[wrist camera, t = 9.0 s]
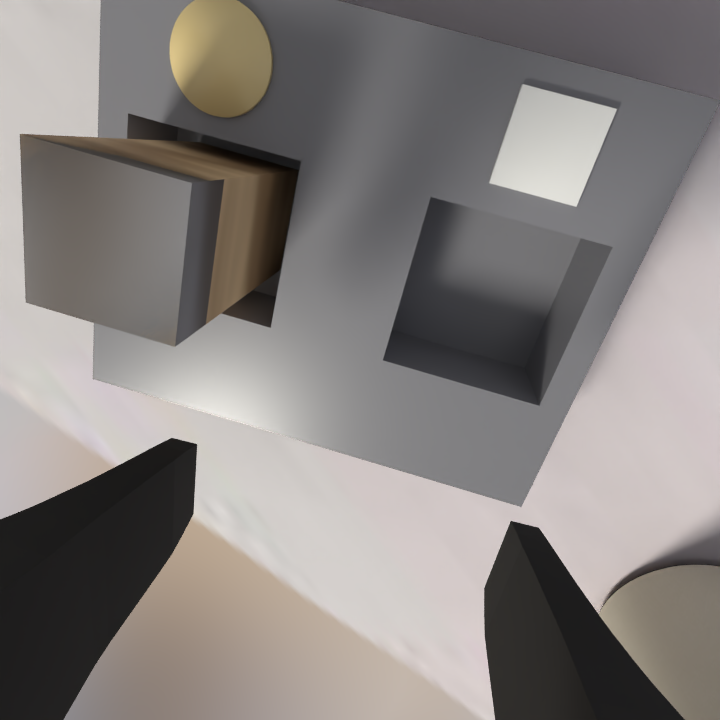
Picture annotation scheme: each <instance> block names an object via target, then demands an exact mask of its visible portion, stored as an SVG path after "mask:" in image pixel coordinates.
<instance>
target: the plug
mask: <svg viewBox="0 0 720 720" xmlns="http://www.w3.org/2000/svg"><path fill="white" fill-rule="evenodd" d="M20 149H21V178H22V206H23V235H24V263H25V292H26V303H29V304H33V305H36V306H39V307H43V308H46V309H49V310H53V311H56V312H59V313H63V314H66V315H70V316H73V317H76V318H80V319H83V320H86V321H90V322H93V323H96V324H100V325H103V326H106V327H110V328H113V329H116V330H120V331H123V332H126V333H130V334H133V335H136V336H140V337H143V338H146V339H150V340H153V341H157V342H160V343H163V344H167V345H170V346H173V347H176V346H177V345H179V344H180V343H181V342H183V341H184V340H185V339H187V338H188V337H189V336H191V335H192V334H194V333H195V332H196V331H198V330H199V329H200V328H202V327H203V326H204V325H206V324H207V323H209V322H210V321H211V320H213V319H214V318H215V317H217V316H218V315H219V314H221V313H222V312H224V311H225V310H226V309H228V308H229V307H230V306H232V305H233V304H234V303H236V302H237V301H239V300H240V299H241V298H243V297H244V296H245V295H247V294H248V293H249V292H251V291H252V290H254V289H255V288H256V287H258V286H259V285H260V284H262V283H263V282H264V281H266V280H267V279H269V278H270V277H271V276H273V275H274V274H275V273H277V272H278V271H279V270H280V267H281V262H282V257H283V251H284V246H285V241H286V235H287V230H288V225H289V219H290V214H291V209H292V203H293V198H294V193H295V187H296V182H297V176H298V171H299V170H297V169H293V168H290V167H286V166H282V165H279V164H275V163H272V162H268V161H265V160H261V159H258V158H254V157H251V156H247V155H243V154H240V153H236V152H233V151H229V150H226V149H222V148H219V147H215V146H212V145H208V144H205V143H201V142H187V141H165V140H142V139H120V138H98V137H75V136H53V135H31V134H20Z"/></svg>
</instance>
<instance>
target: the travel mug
mask: <svg viewBox="0 0 720 720" xmlns="http://www.w3.org/2000/svg"><path fill="white" fill-rule="evenodd" d="M599 616H600V617H601V618H602V620H603V621H604V623H605V624H606V625H607V627H608V628H609V629H610V631H611V632H612V633H613V635H614V636H615V637H616V638H617V640H618V641H619V642H620V643H621V645H622V646H623V647H624V649H625V650H626V651H627V652H628V654H629V655H630V656H631V657H632V659H633V660H634V661H635V662H636V664H637V665H638V666H639V667H640V669H641V670H642V671H643V672H644V673H645V675H646V676H647V677H648V678H649V679H650V681H651V682H652V683H653V684H654V685H655V686H656V688H657V689H658V690H659V691H660V692H661V693H662V694H663V696H664V697H665V698H666V699H667V700H668V701H669V702H670V703H671V705H672V706H673V707H674V708H675V709H676V710H677V711H678V712H679V714H680V715H681V716H682V717H683V718H684V719H685V720H720V567H719V566H711V565H682V566H674V567H669V568H664V569H660V570H656V571H653V572H650V573H647V574H645V575H642V576H640V577H638V578H636V579H634V580H632V581H630V582H629V583H627V584H625V585H624V586H622V587H621V588H620V589H619V590H617V591H616V592H615V593H614V594H613V595H612V596H611V597H610V598H609V599H608V600H607V602H606V603H605V605H604V606H603V608H602V609H601V611H600V614H599Z"/></svg>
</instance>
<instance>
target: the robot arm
mask: <svg viewBox="0 0 720 720" xmlns="http://www.w3.org/2000/svg"><path fill="white" fill-rule="evenodd" d="M196 454H197V444H194V443H190V442H186V441H182V440H178V439H174V438H171V439H169V440H167V441H165V442H163V443H161V444H159V445H157V446H155V447H153V448H151V449H149V450H147V451H145V452H143V453H141V454H140V455H138V456H136V457H134V458H132V459H130V460H128V461H126V462H124V463H122V464H121V465H119V466H117V467H115V468H113V469H111V470H109V471H107V472H105V473H103V474H101V475H99V476H97V477H95V478H93V479H91V480H89V481H87V482H85V483H83V484H81V485H78V486H76V487H74V488H72V489H70V490H68V491H65V492H63V493H61V494H59V495H57V496H55V497H53V498H51V499H48V500H46V501H44V502H42V503H39V504H37V505H35V506H33V507H30V508H28V509H25V510H23V511H21V512H18V513H16V514H13V515H11V516H8V517H6V518H3V519H0V720H63V719H64V718H65V716H66V714H67V712H68V711H69V709H70V707H71V705H72V704H73V702H74V700H75V699H76V697H77V695H78V693H79V692H80V690H81V688H82V686H83V685H84V683H85V681H86V680H87V678H88V676H89V674H90V673H91V671H92V669H93V668H94V666H95V664H96V663H97V661H98V660H99V658H100V657H101V655H102V654H103V652H104V651H105V649H106V647H107V646H108V644H109V643H110V641H111V640H112V639H113V637H114V636H115V634H116V633H117V632H118V630H119V629H120V627H121V626H122V625H123V623H124V622H125V620H126V619H127V617H128V616H129V615H130V613H131V612H132V610H133V609H134V608H135V606H136V605H137V603H138V602H139V600H140V599H141V598H142V596H143V595H144V593H145V592H146V591H147V589H148V588H149V586H150V585H151V583H152V582H153V581H154V579H155V578H156V576H157V575H158V573H159V572H160V571H161V569H162V568H163V566H164V564H165V563H166V562H167V560H168V559H169V557H170V556H171V554H172V553H173V551H174V549H175V547H176V546H177V544H178V542H179V540H180V538H181V537H182V535H183V533H184V531H185V529H186V527H187V525H188V523H189V521H190V519H191V517H192V515H193V511H194V492H195V473H196ZM484 618H485V641H486V650H487V658H488V666H489V674H490V682H491V690H492V697H493V705H494V713H495V720H685V719H684V718H683V717H682V716H681V715H680V714H679V712H678V711H677V710H676V709H675V708H674V707H673V706H672V705H671V703H670V702H669V701H668V700H667V699H666V698H665V697H664V696H663V694H662V693H661V692H660V691H659V690H658V689H657V688H656V686H655V685H654V684H653V683H652V682H651V681H650V679H649V678H648V677H647V676H646V675H645V673H644V672H643V671H642V670H641V669H640V667H639V666H638V665H637V664H636V662H635V661H634V660H633V659H632V657H631V656H630V655H629V654H628V652H627V651H626V650H625V649H624V647H623V646H622V645H621V643H620V642H619V641H618V640H617V638H616V637H615V636H614V635H613V633H612V632H611V631H610V629H609V628H608V627H607V625H606V624H605V623H604V621H603V620H602V618H601V617H600V616H599V614H598V613H597V612H596V610H595V609H594V608H593V606H592V605H591V603H590V602H589V600H588V599H587V598H586V596H585V595H584V593H583V592H582V591H581V589H580V588H579V586H578V585H577V583H576V582H575V580H574V579H573V578H572V576H571V575H570V573H569V572H568V570H567V569H566V567H565V566H564V564H563V563H562V561H561V560H560V558H559V557H558V555H557V554H556V552H555V551H554V549H553V548H552V546H551V545H550V543H549V542H548V540H547V539H546V537H545V536H544V535H543V533H542V532H541V530H540V529H539V528H537V527H533V526H529V525H525V524H521V523H517V522H513V521H511V522H510V525H509V527H508V530H507V532H506V535H505V537H504V540H503V542H502V545H501V547H500V550H499V552H498V555H497V557H496V560H495V563H494V565H493V568H492V570H491V573H490V575H489V578H488V580H487V583H486V585H485V588H484Z"/></svg>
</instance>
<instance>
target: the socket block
mask: <svg viewBox="0 0 720 720" xmlns="http://www.w3.org/2000/svg"><path fill="white" fill-rule="evenodd" d="M719 104H720V100H717V99H713V98H709V97H705V96H702V95H698V94H694V93H690V92H686V91H682V90H679V89H675V88H671V87H667V86H663V85H660V84H656V83H652V82H648V81H644V80H640V79H637V78H633V77H629V76H625V75H621V74H618V73H614V72H610V71H606V70H602V69H599V68H595V67H591V66H587V65H583V64H579V63H576V62H572V61H568V60H564V59H560V58H557V57H553V56H549V55H545V54H541V53H537V52H534V51H530V50H526V49H522V48H518V47H515V46H511V45H507V44H503V43H499V42H496V41H492V40H488V39H484V38H480V37H476V36H473V35H469V34H465V33H461V32H457V31H454V30H450V29H446V28H442V27H438V26H434V25H431V24H427V23H423V22H419V21H415V20H412V19H408V18H404V17H400V16H396V15H393V14H389V13H385V12H381V11H377V10H373V9H370V8H366V7H362V6H358V5H354V4H351V3H347V2H343V1H339V0H101V16H100V63H99V110H98V138H120V139H142V140H165V141H187V142H201V143H205V144H208V145H212V146H215V147H219V148H222V149H226V150H229V151H233V152H236V153H240V154H243V155H247V156H251V157H254V158H258V159H261V160H265V161H268V162H272V163H275V164H279V165H282V166H286V167H290V168H293V169H297V170H299V171H298V176H297V182H296V187H295V193H294V198H293V203H292V209H291V214H290V219H289V225H288V230H287V235H286V241H285V246H284V251H283V257H282V262H281V267H280V270H279V271H278V272H277V273H275V274H274V275H273V276H271V277H270V278H269V279H267V280H266V281H264V282H263V283H262V284H260V285H259V286H258V287H256V288H255V289H254V290H252V291H251V292H249V293H248V294H247V295H245V296H244V297H243V298H241V299H240V300H239V301H237V302H236V303H234V304H233V305H232V306H230V307H229V308H228V309H226V310H225V311H224V312H222V313H221V314H219V315H218V316H217V317H215V318H214V319H213V320H211V321H210V322H209V323H207V324H206V325H204V326H203V327H202V328H200V329H199V330H198V331H196V332H195V333H194V334H192V335H191V336H189V337H188V338H187V339H185V340H184V341H183V342H181V343H180V344H179V345H177V346H176V347H173V346H170V345H167V344H163V343H160V342H157V341H153V340H150V339H146V338H143V337H140V336H136V335H133V334H130V333H126V332H123V331H120V330H116V329H113V328H110V327H106V326H103V325H100V324H96V323H94V346H93V379H95V380H98V381H102V382H105V383H108V384H112V385H115V386H118V387H122V388H125V389H128V390H132V391H135V392H138V393H142V394H145V395H148V396H152V397H155V398H158V399H162V400H165V401H168V402H172V403H175V404H179V405H182V406H185V407H189V408H192V409H195V410H199V411H202V412H205V413H209V414H212V415H215V416H219V417H222V418H225V419H229V420H232V421H235V422H239V423H242V424H245V425H249V426H252V427H255V428H259V429H262V430H266V431H269V432H272V433H276V434H279V435H282V436H286V437H289V438H292V439H296V440H299V441H302V442H306V443H309V444H312V445H316V446H319V447H322V448H326V449H329V450H332V451H336V452H339V453H343V454H346V455H349V456H353V457H356V458H359V459H363V460H366V461H369V462H373V463H376V464H379V465H383V466H386V467H389V468H393V469H396V470H399V471H403V472H406V473H409V474H413V475H416V476H420V477H423V478H426V479H430V480H433V481H436V482H440V483H443V484H446V485H450V486H453V487H456V488H460V489H463V490H466V491H470V492H473V493H476V494H480V495H483V496H486V497H490V498H493V499H497V500H500V501H503V502H507V503H510V504H513V505H517V506H520V507H521V506H522V504H523V502H524V500H525V498H526V496H527V494H528V492H529V490H530V488H531V486H532V484H533V482H534V480H535V478H536V476H537V474H538V472H539V470H540V468H541V466H542V464H543V462H544V460H545V458H546V456H547V454H548V452H549V450H550V448H551V445H552V443H553V441H554V439H555V437H556V435H557V433H558V431H559V429H560V427H561V425H562V423H563V421H564V419H565V417H566V415H567V413H568V411H569V409H570V407H571V405H572V403H573V401H574V399H575V397H576V395H577V393H578V391H579V389H580V387H581V385H582V382H583V380H584V378H585V376H586V374H587V372H588V370H589V368H590V366H591V364H592V362H593V360H594V358H595V356H596V354H597V352H598V350H599V348H600V346H601V344H602V342H603V340H604V338H605V336H606V334H607V332H608V330H609V328H610V326H611V324H612V321H613V319H614V317H615V315H616V313H617V311H618V309H619V307H620V305H621V303H622V301H623V299H624V297H625V295H626V293H627V291H628V289H629V287H630V285H631V283H632V281H633V279H634V277H635V275H636V273H637V271H638V269H639V267H640V265H641V263H642V261H643V258H644V256H645V254H646V252H647V250H648V248H649V246H650V244H651V242H652V240H653V238H654V236H655V234H656V232H657V230H658V228H659V226H660V224H661V222H662V220H663V218H664V216H665V214H666V212H667V210H668V208H669V206H670V204H671V202H672V200H673V198H674V195H675V193H676V191H677V189H678V187H679V185H680V183H681V181H682V179H683V177H684V175H685V173H686V171H687V169H688V167H689V165H690V163H691V161H692V159H693V157H694V155H695V153H696V151H697V149H698V147H699V145H700V143H701V141H702V139H703V137H704V134H705V132H706V130H707V128H708V126H709V124H710V122H711V120H712V118H713V116H714V114H715V112H716V110H717V108H718V106H719Z"/></svg>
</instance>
